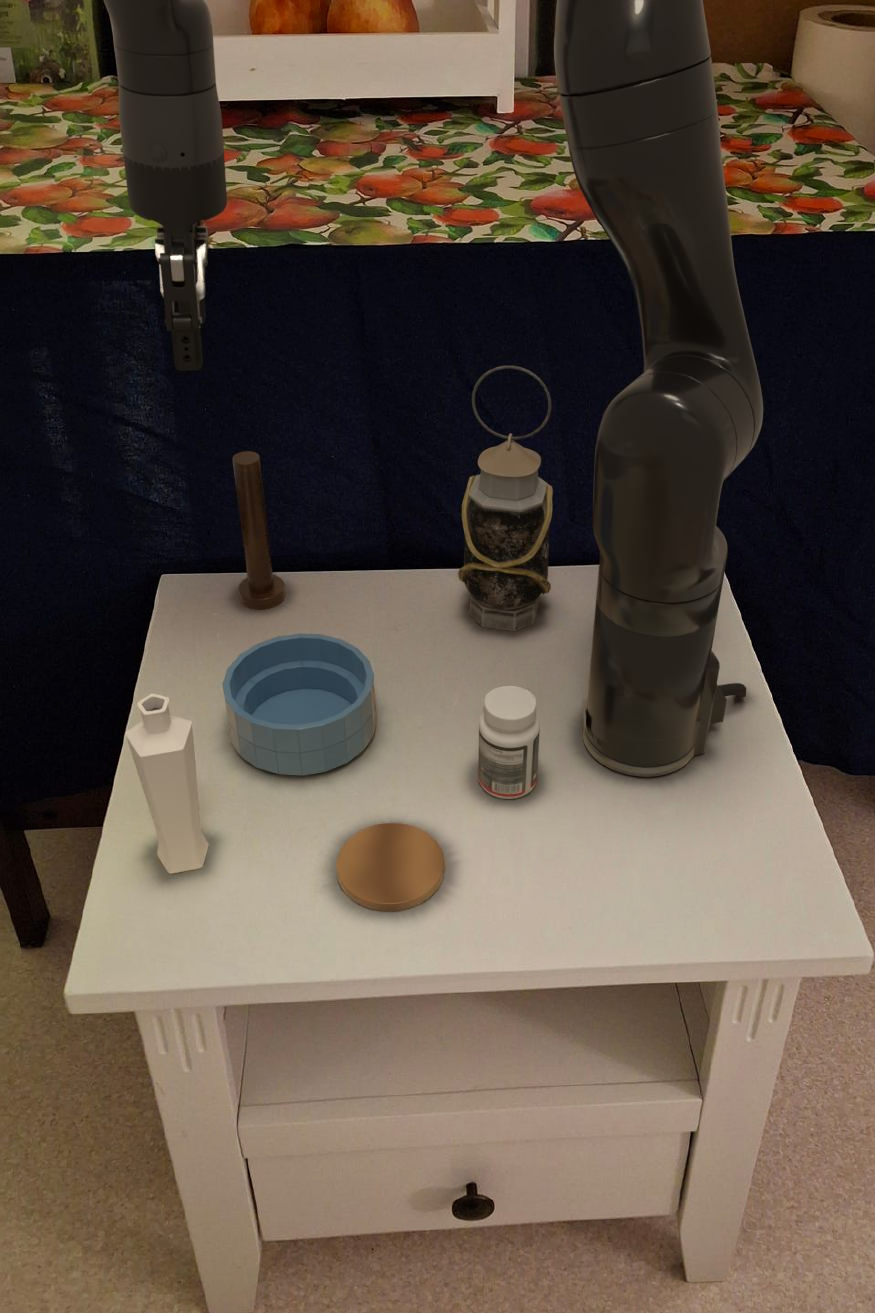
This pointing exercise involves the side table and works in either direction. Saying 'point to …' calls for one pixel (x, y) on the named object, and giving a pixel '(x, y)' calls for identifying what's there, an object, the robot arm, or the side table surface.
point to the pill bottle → (508, 743)
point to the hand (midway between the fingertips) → (191, 344)
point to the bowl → (300, 703)
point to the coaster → (390, 866)
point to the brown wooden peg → (255, 536)
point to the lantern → (506, 531)
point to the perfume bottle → (169, 783)
